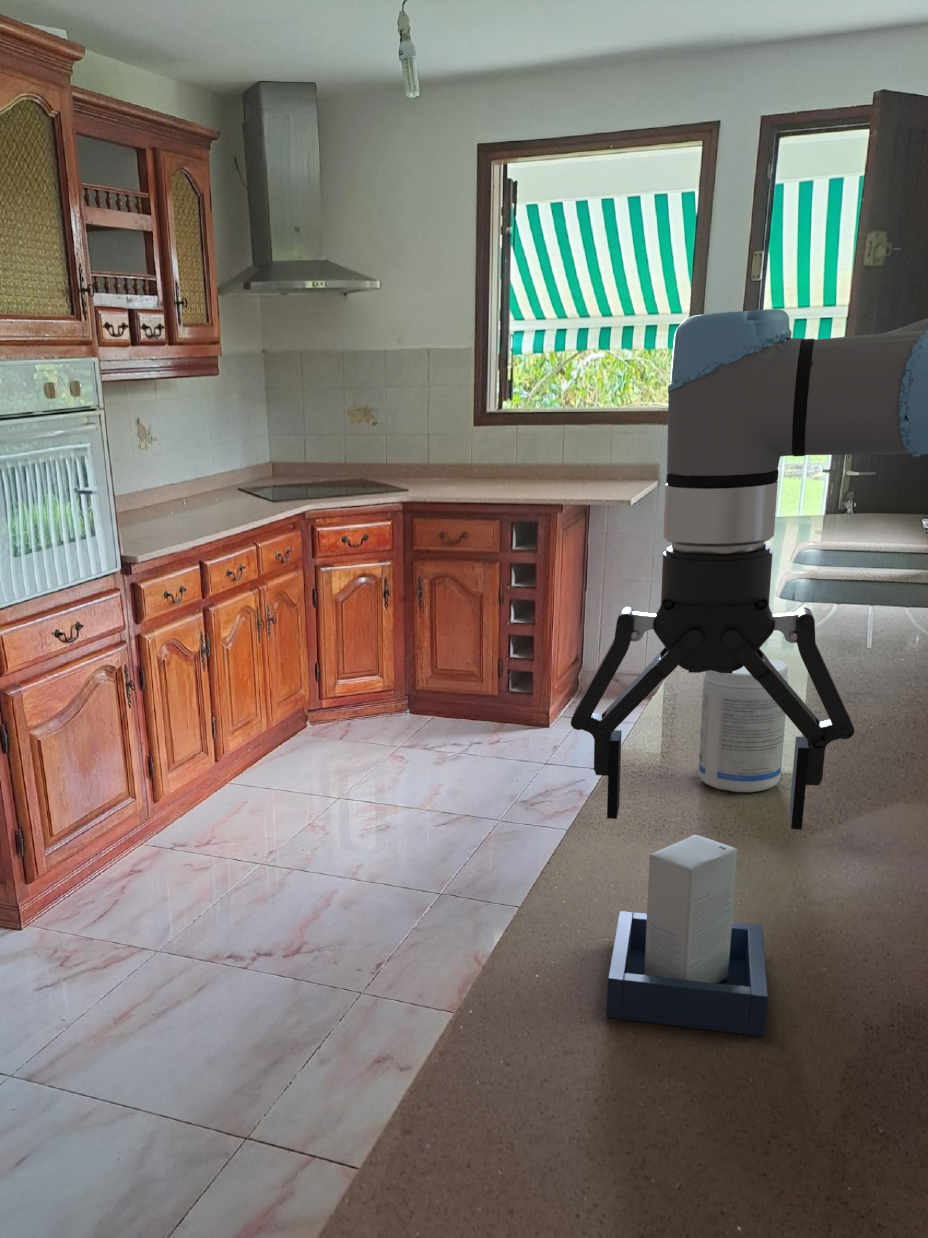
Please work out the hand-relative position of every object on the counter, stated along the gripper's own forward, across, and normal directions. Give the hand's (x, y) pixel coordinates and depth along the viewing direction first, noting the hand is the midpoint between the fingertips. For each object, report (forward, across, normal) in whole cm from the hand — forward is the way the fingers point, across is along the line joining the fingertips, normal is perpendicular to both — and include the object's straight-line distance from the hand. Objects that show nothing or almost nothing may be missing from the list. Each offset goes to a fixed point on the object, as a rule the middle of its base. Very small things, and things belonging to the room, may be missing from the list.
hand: (702, 818), depth 87 cm
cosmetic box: (+15, +1, 0) cm, 15 cm away
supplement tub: (+16, -4, -51) cm, 54 cm away
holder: (+15, +1, 0) cm, 15 cm away
